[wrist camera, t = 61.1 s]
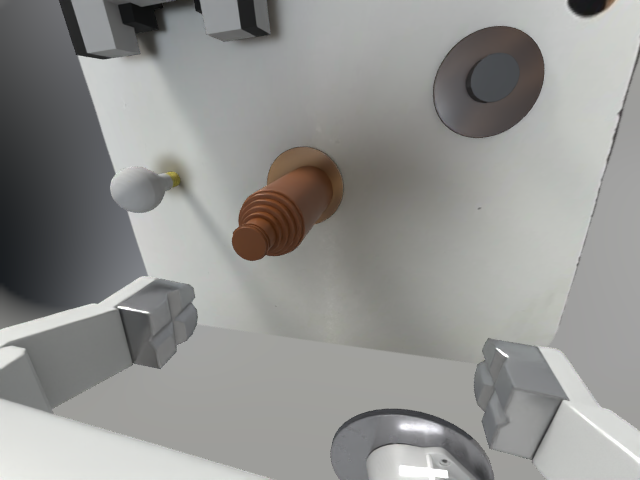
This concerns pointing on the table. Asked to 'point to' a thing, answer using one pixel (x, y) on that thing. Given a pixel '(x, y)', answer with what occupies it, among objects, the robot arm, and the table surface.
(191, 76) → the table surface
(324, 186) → the bottle
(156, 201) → the light bulb
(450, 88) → the dish
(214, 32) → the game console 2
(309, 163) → the coaster
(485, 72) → the cap
